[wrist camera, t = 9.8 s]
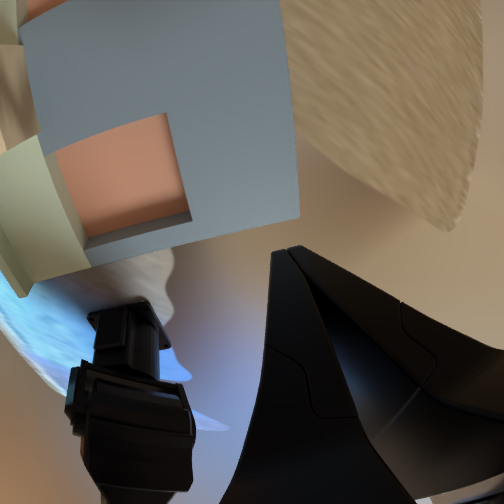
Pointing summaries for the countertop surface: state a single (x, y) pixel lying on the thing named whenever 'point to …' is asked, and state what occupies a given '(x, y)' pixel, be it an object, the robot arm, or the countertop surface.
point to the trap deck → (144, 130)
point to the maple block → (15, 99)
